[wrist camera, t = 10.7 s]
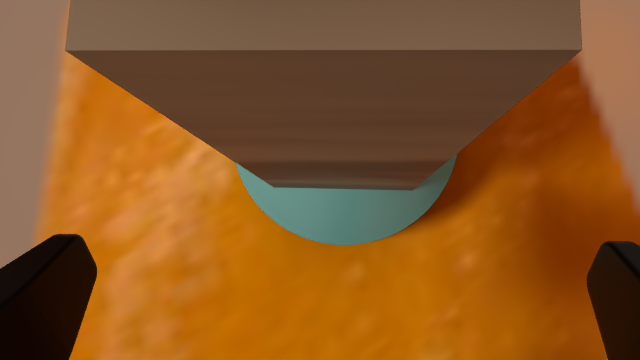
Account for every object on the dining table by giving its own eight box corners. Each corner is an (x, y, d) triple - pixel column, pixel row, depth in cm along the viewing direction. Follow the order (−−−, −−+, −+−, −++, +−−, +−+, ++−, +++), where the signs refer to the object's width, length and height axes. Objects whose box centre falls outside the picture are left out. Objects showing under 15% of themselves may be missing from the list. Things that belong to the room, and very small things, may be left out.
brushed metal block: (412, 190, 17) (582, 49, 4) (273, 187, 18) (65, 50, 5) (412, 75, 18) (563, -340, 5) (278, 75, 18) (104, -309, 6)
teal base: (489, 140, 20) (508, 126, 17) (346, 287, 19) (345, 294, 17) (343, 10, 21) (341, -20, 19) (206, 146, 21) (186, 133, 18)
